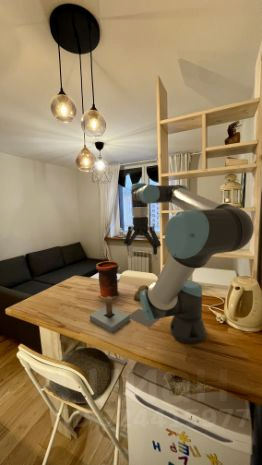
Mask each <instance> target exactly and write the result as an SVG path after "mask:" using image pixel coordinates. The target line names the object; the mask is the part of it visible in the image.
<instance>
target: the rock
mask: <svg viewBox="0 0 262 465" xmlns="http://www.w3.org/2000/svg"><path fill="white" fill-rule="evenodd" d="M148 289H149V286H148V285H146V284H143V285H140V286H139V288H138V289H137V291H135V292H134V296H133V300H134V301H140V292H141V291H143V290H148Z"/></svg>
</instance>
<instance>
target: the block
mask: <svg viewBox="0 0 262 465" xmlns="http://www.w3.org/2000/svg"><path fill="white" fill-rule="evenodd" d="M112 312H113V316H112V317H111V318H107V314H106V305H104V306H103V307H102V308H100V309H99V308H98V310H96V311H95V312H93V313H91V314H89V321H91V322H93V323H94V324H96V325H98V326H100V327H102V328H103V329H105V330H107V331H109V332H110V333H114V332H115V331H117V330H118V329H119V328H122V326H124V325H125V324H126V323H128V322H129V321H131V319H130V314H128V313H126V312H123V311H122V310H120V309H117V308H115V307H113V306H112Z"/></svg>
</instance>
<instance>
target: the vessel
mask: <svg viewBox="0 0 262 465" xmlns="http://www.w3.org/2000/svg"><path fill="white" fill-rule="evenodd" d="M119 267H120V266H119V263H118V262H116V261H112V260H108V261H107V260H106V261H101V262H99V263H97V264H96V265H95V269H96V271H97V273H98V284H99V285H98V286H99V291H100V293H99V294H98V296H99V297H100V298H101V299H105V300H106V297H109V296H110V297H112V299H114V298H116V297H117V296H119V295H120V292H119V288H118V285H119V284H118V283H119V282H118V273H119V271H118V269H119Z"/></svg>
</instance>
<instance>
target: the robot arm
mask: <svg viewBox="0 0 262 465" xmlns="http://www.w3.org/2000/svg"><path fill="white" fill-rule="evenodd" d="M130 188H131V189H130V190H131V191H130V192H131V207H132V209H131V211H132V214H131V216H133V217H132V225H129V226H128V228H127V233H126V235H125V238H124V241H123V244H124V245H126V248H127V250H126V251H127V252H128V258H129V259H131V258H134V249H133V242H134V241H135V240H136V238H137V236H141V237H144V238H145V239H146V240H147V241H148V243H149V244H150V245H151V246H152V247H151V252H150V253H151V262H155V261H157V254H158V248H159V247H161V246H162V244H161V242H160V239H159V238H158V235H157V233H156V231H155V226H153V225H152V226H149V217H148V215H149V205H148V204H163V203H166V204H167V203H168V204H169V203H171V204H173V205H174V206H176V207H178V208H179V209H181V210H182V211H178V212H175V213H174V214H172V216H170V218H169V219H168V221H167V223H166V226H165V228H164V229H165V230H164V233H165V235H164V243H165V247H166V250H167V251H168V253H169V254H168V256H167V259H166V260H165V262H164V264H163V266H162V269H161V270H160V273H159V275H158V277H157V279H156V281H154V282H153V283H151V284H150V285H149V286H148V288H149V289H148V290H143V291H141V292H140V300H139V301H140V306H141V309H142V310H143V313H144V316H145V318H146V319H147V320H156V319H159V320H160V319H164V318H168V317H172V319H171V322H170V325H169V331H170V334H171V336H172V337H173V338H174V339H175V341H178V342H180V343H183V344H188V345H197V344H199V343H202V342H203V341H205V339H206V337H207V329H206V326H205V323H204V320H203V315H202V314H203V311H202V310H203V288H202V286H201V284H199V283H198V282H196V281H194V280H192V279H190V277H191V276H192V275H193V274H194V272H195V270H196V269H200V268H203V267H204V266H206V264H207V263H208V262H209V260H210V259H212V257H213V256H214V255H217V254H224V253H231V252H232V253H233V252H235V251H239V250H241V249H243V248H244V247H245V246H246V245H248V243H250V241H251V239H252V238H253V235H254V230H255V228H254V222H253V220H252V217H251V216H250V215H249V214H248V212H246V211H245V210H243V209H241V208H240V207H238V206H235V205H232V204H230V203H217V202H216V201H214V200H211V199H209V198H206V197H205V196H201V195H200V194H197V193H194V192H193V191H190V190H189V189H188V188H187V186H186V185H184V184H176V185H173V184H172V185H171V184H170V185H169V184H168V185H167V184H166V185H164V184H163V185H162V184H161V185H155V184H146V183H144V182H143V183H142V182H138V183H133V184H132V185H131V187H130Z"/></svg>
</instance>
